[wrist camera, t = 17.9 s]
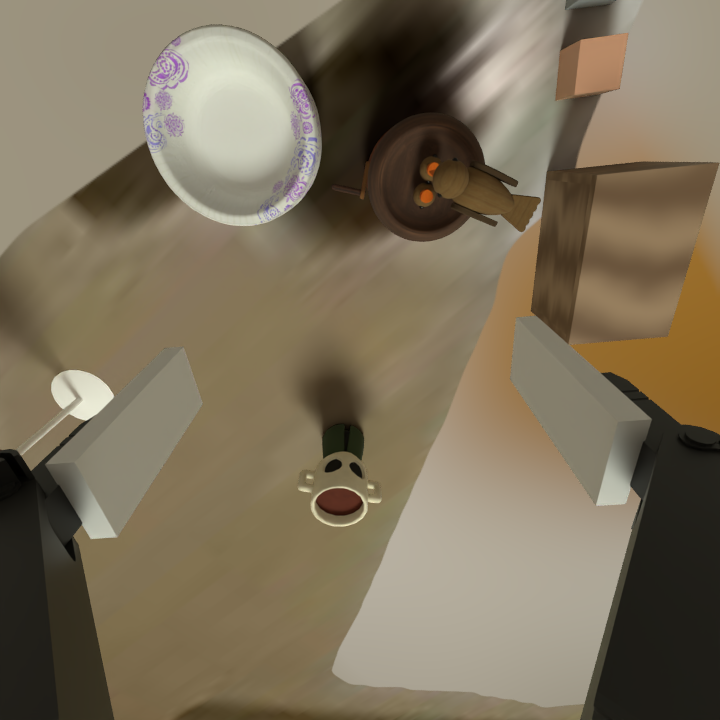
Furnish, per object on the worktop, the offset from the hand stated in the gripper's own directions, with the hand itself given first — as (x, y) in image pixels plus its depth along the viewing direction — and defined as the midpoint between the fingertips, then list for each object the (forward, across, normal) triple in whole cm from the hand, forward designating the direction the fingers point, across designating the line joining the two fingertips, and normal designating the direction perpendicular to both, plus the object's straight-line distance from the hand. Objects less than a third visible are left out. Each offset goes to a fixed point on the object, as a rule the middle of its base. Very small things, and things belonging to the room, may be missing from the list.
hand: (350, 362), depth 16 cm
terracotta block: (+33, +23, +12) cm, 42 cm away
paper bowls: (+33, -10, +10) cm, 36 cm away
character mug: (+33, -5, -30) cm, 45 cm away
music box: (+33, +6, +5) cm, 34 cm away
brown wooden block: (+33, +26, -4) cm, 42 cm away
